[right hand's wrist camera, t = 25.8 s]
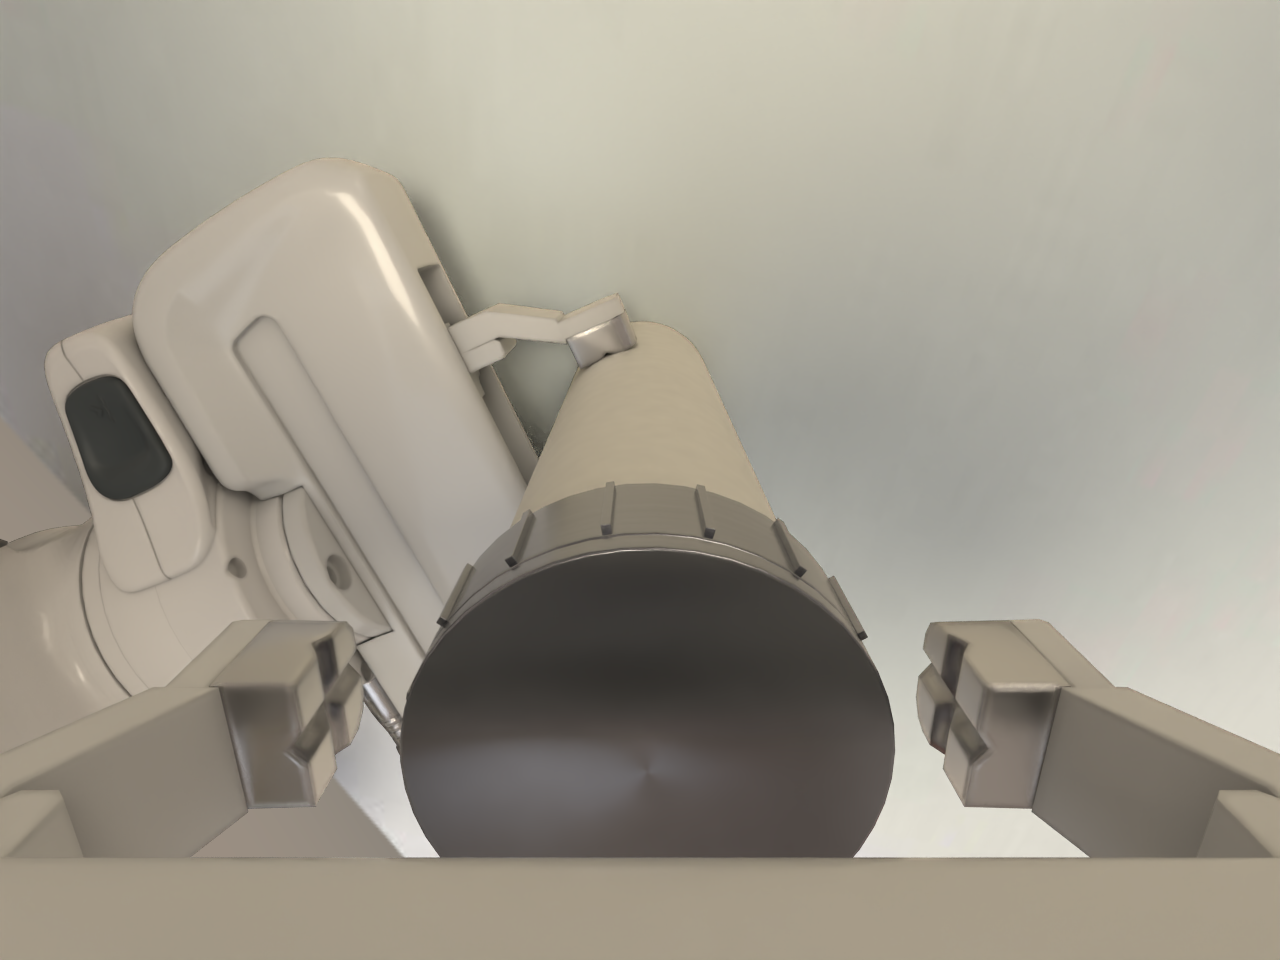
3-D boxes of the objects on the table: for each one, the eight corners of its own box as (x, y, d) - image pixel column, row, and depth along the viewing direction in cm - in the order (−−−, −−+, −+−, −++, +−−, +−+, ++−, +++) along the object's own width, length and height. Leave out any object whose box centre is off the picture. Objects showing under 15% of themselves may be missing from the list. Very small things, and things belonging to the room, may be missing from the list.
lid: (880, 487, 9) (941, 554, 7) (823, 835, 11) (860, 957, 9) (427, 471, 9) (374, 533, 7) (451, 824, 11) (413, 944, 9)
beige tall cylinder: (620, 294, 26) (578, 458, 8) (735, 368, 27) (927, 665, 9) (550, 408, 27) (380, 766, 9) (661, 475, 28) (699, 917, 10)
